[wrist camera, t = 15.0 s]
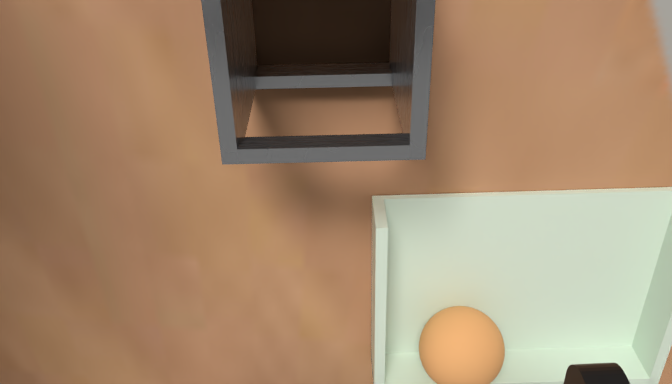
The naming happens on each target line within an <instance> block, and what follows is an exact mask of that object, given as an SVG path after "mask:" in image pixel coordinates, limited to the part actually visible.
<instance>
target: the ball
mask: <svg viewBox="0 0 672 384" xmlns="http://www.w3.org/2000/svg"><path fill="white" fill-rule="evenodd" d="M419 355H420V360H421V363H422V365H423V367H424V369H425V371H426V373H427V374H428V375H429V377H430V378H431V379H432V380H433V381H434V382H435V383H437V384H490V383H491V382H492V381H493V380H494V379H495V378H496V377H497V375H498V374H499V372H500V370H501V368H502V365H503V362H504V357H505V346H504V341H503V337H502V335H501V332H500V330H499V328H498V327H497V325H496V324H495V323H494V322H493V320H492V319H491V318H490V317H488V316H487V315H486V314H484V313H483V312H481V311H479V310H477V309H474V308H471V307H467V306H453V307H449V308H446V309H443V310H441V311H439V312H438V313H436V314H435V315H434V316H432V317H431V318H430V319H429V321H428V322H427V323H426V325H425V326H424V328H423V330H422V333H421V336H420V340H419Z"/></svg>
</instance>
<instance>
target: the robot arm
mask: <svg viewBox="0 0 672 384" xmlns="http://www.w3.org/2000/svg"><path fill="white" fill-rule="evenodd" d="M564 384H630V382H629V380H628V378H627V376H626V374H625V373H624V371H623V369H622V368H621V367H620V366H619V365H618V364H617V363H592V364H572V365H570V366H569V367H568V368H567V371H566V375H565V379H564Z"/></svg>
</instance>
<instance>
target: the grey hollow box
mask: <svg viewBox="0 0 672 384" xmlns="http://www.w3.org/2000/svg"><path fill="white" fill-rule="evenodd" d="M201 2H202V10H203V17H204V25H205V33H206V41H207V48H208V56H209V64H210V72H211V80H212V87H213V95H214V103H215V111H216V118H217V126H218V134H219V142H220V150H221V157H222V164H258V163H299V162H340V161H381V160H423V159H425V157H426V141H427V126H428V110H429V94H430V78H431V62H432V46H433V30H434V14H435V0H391V25H390V62H376V63H334V64H292V65H257V55H256V44H255V32H254V21H253V9H252V0H201ZM368 86H392V88H393V93H394V97H395V101H396V106H397V110H398V114H399V119H400V123H401V127H402V132H403V133H400V134H358V135H317V136H276V137H245V134H246V130H247V126H248V121H249V117H250V112H251V108H252V103H253V99H254V95H255V90H256V89H284V88H326V87H368Z"/></svg>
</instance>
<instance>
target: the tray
mask: <svg viewBox="0 0 672 384" xmlns="http://www.w3.org/2000/svg"><path fill="white" fill-rule="evenodd" d="M453 306H467V307H471V308H474V309H477V310H479V311H481V312H483V313H484V314H486V315H487V316H488V317H490V318H491V319H492V320H493V322H494V323H495V324H496V325H497V327H498V328H499V330H500V332H501V335H502V337H503V341H504V346H505V357H504V362H503V365H502V368H501V370H500V372H499V374H498V375H497V377H496V378H495V379H494V380H493V381H492V382H491V383H490V384H564V379H565V375H566V371H567V368H568V367H569V366H570V365H572V364H592V363H617V364H618V365H619V366H620V367H621V368H622V369H623V371H624V373H625V374H626V376H627V378H628V380H629V382H630V384H658V383H659V380H660V377H661V374H662V371H663V368H664V365H665V362H666V360H667V357H668V354H669V351H670V348H671V345H672V187H654V188H620V189H586V190H552V191H518V192H485V193H451V194H417V195H383V196H372V282H371V362H372V373H373V384H437V383H435V382H434V381H433V380H432V379H431V378H430V377H429V375H428V374H427V373H426V371H425V369H424V367H423V365H422V363H421V360H420V355H419V340H420V336H421V333H422V330H423V328H424V326H425V325H426V323H427V322H428V321H429V319H430V318H431V317H432V316H434V315H435V314H436V313H438V312H439V311H441V310H443V309H446V308H449V307H453Z"/></svg>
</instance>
